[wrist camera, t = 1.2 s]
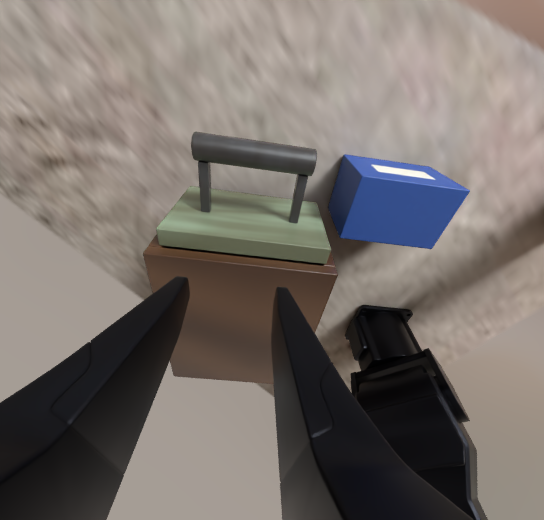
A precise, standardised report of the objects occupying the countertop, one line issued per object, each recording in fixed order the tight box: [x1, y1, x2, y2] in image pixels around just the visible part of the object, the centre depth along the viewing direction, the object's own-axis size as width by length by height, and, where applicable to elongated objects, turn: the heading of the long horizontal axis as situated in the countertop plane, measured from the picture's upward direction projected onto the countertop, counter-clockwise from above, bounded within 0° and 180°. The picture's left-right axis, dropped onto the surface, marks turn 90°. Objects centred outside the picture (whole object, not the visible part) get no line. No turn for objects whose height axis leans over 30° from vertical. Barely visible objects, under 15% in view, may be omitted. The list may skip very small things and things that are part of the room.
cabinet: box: [143, 235, 338, 384], centre depth 22 cm, size 15×12×9 cm
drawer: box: [156, 132, 331, 264], centre depth 19 cm, size 18×10×7 cm, turn 173°
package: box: [328, 155, 470, 249], centre depth 18 cm, size 7×4×5 cm, turn 83°
